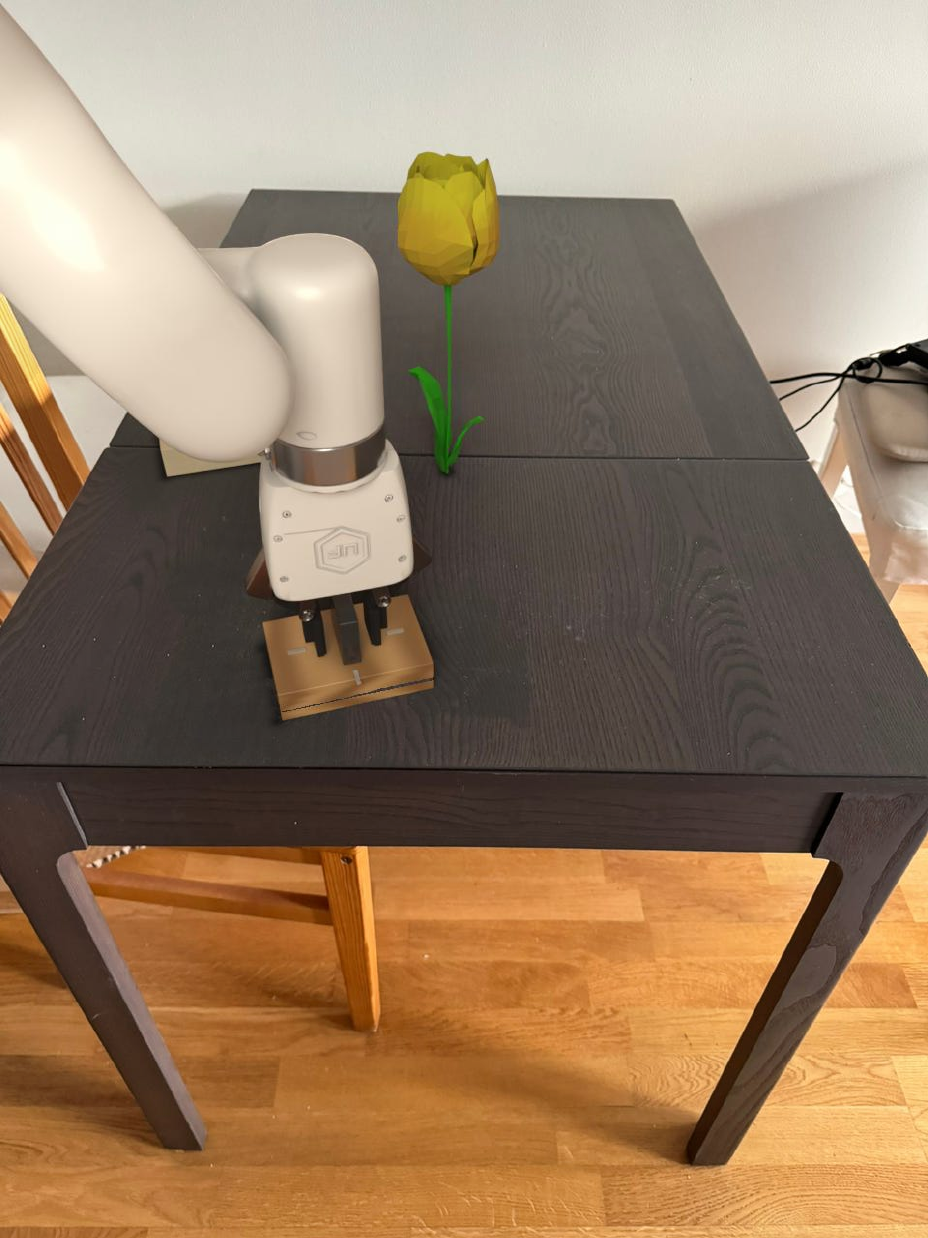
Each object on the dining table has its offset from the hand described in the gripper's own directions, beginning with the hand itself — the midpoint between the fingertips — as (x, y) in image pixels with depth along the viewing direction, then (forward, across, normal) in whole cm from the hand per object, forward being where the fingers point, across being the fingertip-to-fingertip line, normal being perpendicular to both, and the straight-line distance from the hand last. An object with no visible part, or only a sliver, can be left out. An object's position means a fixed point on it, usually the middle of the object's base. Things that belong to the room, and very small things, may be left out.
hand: (345, 637), depth 72 cm
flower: (+4, +15, +24) cm, 28 cm away
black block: (+1, 0, 0) cm, 1 cm away
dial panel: (+4, 0, 0) cm, 4 cm away
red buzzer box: (+4, -6, +34) cm, 35 cm away
